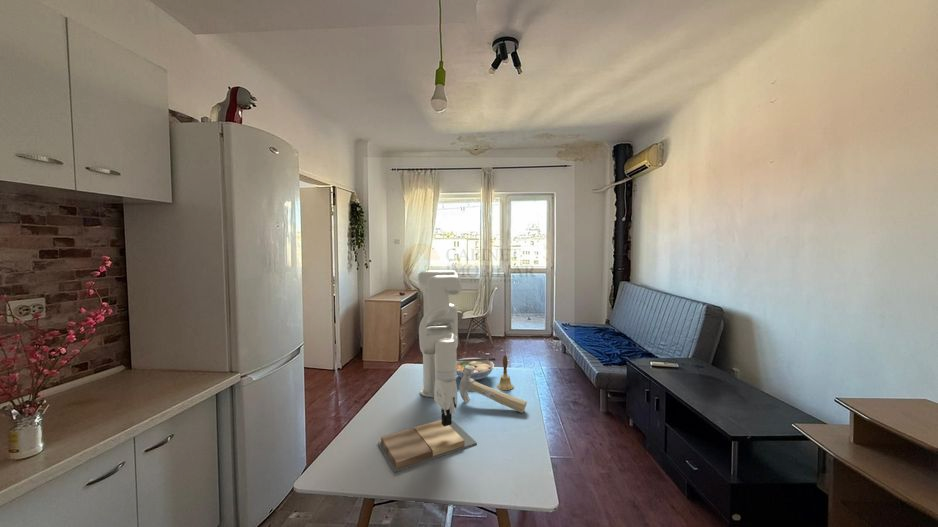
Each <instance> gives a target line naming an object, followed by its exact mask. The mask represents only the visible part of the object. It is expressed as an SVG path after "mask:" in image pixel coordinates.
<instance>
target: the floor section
mask: <svg viewBox="0 0 938 527" xmlns="http://www.w3.org/2000/svg"><path fill="white" fill-rule="evenodd" d="M449 426H450V427H451V428H453V429H454V430H455V431H456V432H457V433H458V434H459V435H460V436H461V437H462V438H463V439H464V446H462V447H459V448H456V449H453V450H450V451H447V452H444V453H441V454H438V455H435V456H432V450H431V449H430V448H429V447H428V445H427V444H426V443H425V442H424V440H423V439H422V438H421V437H420V436H419V434H418V433H417V432H416V431H415V429H414V427H411V428H408V429H403V430H400V431H397V432H394V433H389V434H386V435H383V436H381V437H380V439H381V440H380V441H378V442H377V445H378V444H379V445H378V446H380V447H379V448H380V450H381V452H382V451H383V452H382V454H383V453H384V454H383V456H384V457H385V459H386V461H387V462H388V464H389V466H390V468H391V469H392V471H393V473H397V472H400V471H402V470H406V469H409V468H411V467H414V466H417V465H420V464H423V463H426V462H429V461H433V460H435V459H438V458H440V457H444V456H446V455H450V454H452V453H456V452H458V451H461V450H462V451H463V450H465V449H466V448H467V449H468V448H470V447H473V446H476V445H477V444H478V442H477V441H476V440H474V438H473V437H472V436H470V435H469V434H468V433H467V432H466V431H465V430H464V429H463V428H462V427H461V426H459V424H458V423H456V422H455V421H454V420H452V424H451V425H449Z"/></svg>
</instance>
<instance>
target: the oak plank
mask: <svg viewBox="0 0 938 527" xmlns="http://www.w3.org/2000/svg"><path fill="white" fill-rule="evenodd" d="M413 428H414V429H415V431H416V432H417V433H418V434H419V436H420V437H421V438H422V439H423V440H424V442H425V443H426V444H427V445H428V447H429V448H430V449H431V450H432V456H435V455H438V454H441V453H444V452H447V451H450V450H453V449H456V448H459V447H462V446H464V439H463V438H462V437H461V436H460V435H459V434H458V433H457V432H456V431H455V430H454V429H453V428H451V427H450V426H449V425H448V426H443V425H442V419H438V420H435V421H431V422H428V423H424V424H421V425H417V426H414V427H413Z"/></svg>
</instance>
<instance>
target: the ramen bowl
mask: <svg viewBox="0 0 938 527" xmlns="http://www.w3.org/2000/svg"><path fill="white" fill-rule="evenodd" d="M493 361H496V358H495V357H488V358H484V357H483V358H481V357H465V358H460V359H457V377H459V378H462V377H463V375H464V374H463V369H464V367H465V366H466V365H470V366H472V367H473V368H474V372H473V374H472V375H471V376H470V378H472V379H474V381H476V382H477V381H479V380H482V379H485V378H486V377H488V376H489V375H490V374H491V372H492V371H493V370H494V367H495V364H494V362H493Z"/></svg>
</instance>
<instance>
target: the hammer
mask: <svg viewBox="0 0 938 527" xmlns="http://www.w3.org/2000/svg"><path fill="white" fill-rule="evenodd" d="M473 372H474V368H473V367H472V366H470V365H466V366H465V367H464V369H463V374H464V375H463V377H462V378H461V377H460V378H461V379H460V382H459V386H458V389H459V394H460V397H461V400H462V401H463V402H464V404H468V403H469V402H470V401H471V398H470V396H469V393H468V392H469V391H472V392H474V393H477V394H478V395H479V394H480V395H482V396H483V397H486V398H487V399H489V400H493V402H496V403H498V404H500V405H502V406H505V407H508V408H510V409H512V410H514V411H516V412H518V413H521V414H524V413H525V410H526V407H527V403H528V401H527V400H524V399H520V398H519V397H515V396H512V395H510V394H508V393H505V392H502V391H501V390H500V391H499V389H495V388H492V387H490V386H487V385H484V384H482V383H480V382H478V381H477V380H476V381H474V379H472V378H470V376H471V375H472V374H473Z"/></svg>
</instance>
